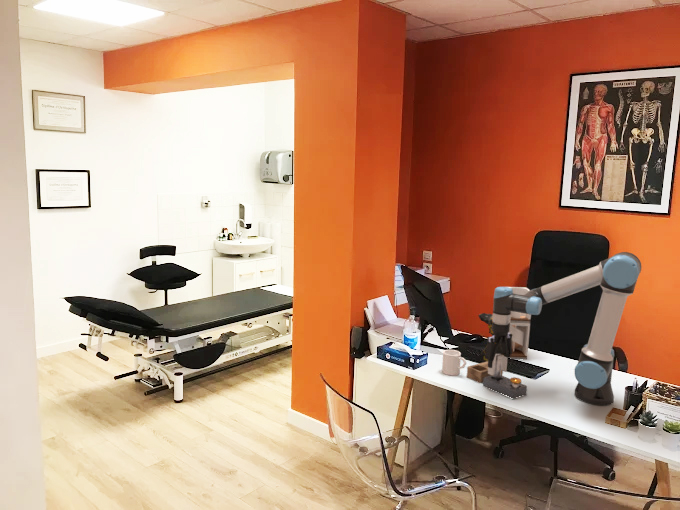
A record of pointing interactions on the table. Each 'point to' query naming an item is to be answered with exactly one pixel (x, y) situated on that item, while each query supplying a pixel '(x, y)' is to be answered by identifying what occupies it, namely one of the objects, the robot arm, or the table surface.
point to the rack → (478, 372)
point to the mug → (452, 362)
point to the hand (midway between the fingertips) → (497, 372)
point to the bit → (497, 366)
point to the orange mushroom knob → (515, 382)
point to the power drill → (488, 320)
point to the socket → (504, 386)
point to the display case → (519, 329)
